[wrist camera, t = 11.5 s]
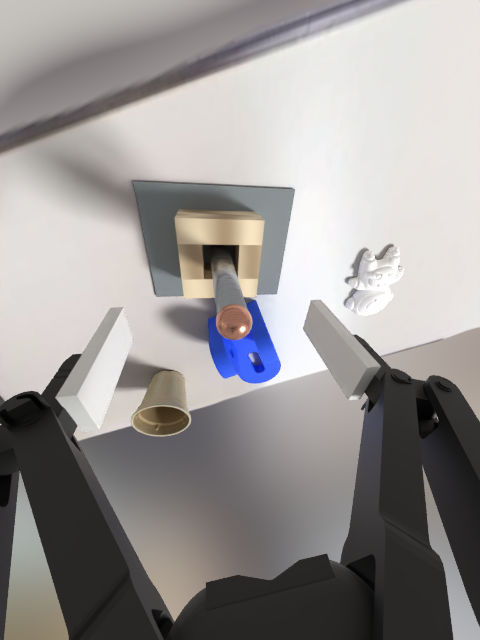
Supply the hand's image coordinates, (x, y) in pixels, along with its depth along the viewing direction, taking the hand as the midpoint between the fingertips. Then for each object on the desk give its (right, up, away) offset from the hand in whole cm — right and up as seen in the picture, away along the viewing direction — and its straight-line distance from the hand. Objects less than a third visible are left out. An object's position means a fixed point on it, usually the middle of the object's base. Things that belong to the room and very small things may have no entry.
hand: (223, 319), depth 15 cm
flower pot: (-13, -12, +27) cm, 32 cm away
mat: (-2, +9, +13) cm, 16 cm away
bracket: (+3, -5, +24) cm, 25 cm away
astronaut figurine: (+23, +6, +20) cm, 31 cm away
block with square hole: (-2, +9, +12) cm, 16 cm away
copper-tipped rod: (-2, +9, +12) cm, 16 cm away
